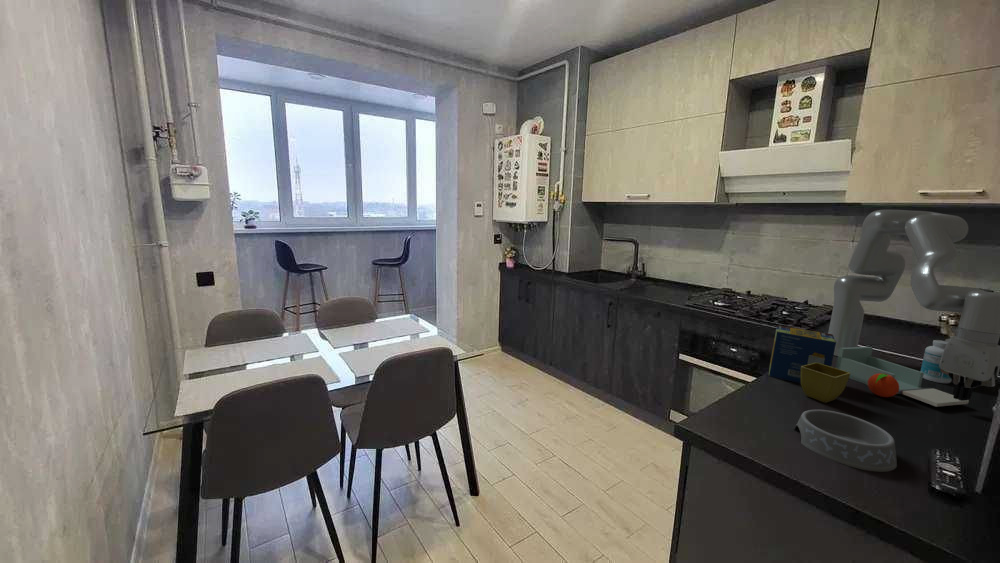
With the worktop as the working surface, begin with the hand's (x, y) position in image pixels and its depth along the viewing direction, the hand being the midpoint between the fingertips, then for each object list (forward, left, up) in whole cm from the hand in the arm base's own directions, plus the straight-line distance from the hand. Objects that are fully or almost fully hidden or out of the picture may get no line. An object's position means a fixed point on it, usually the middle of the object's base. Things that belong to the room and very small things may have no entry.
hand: (960, 399), depth 112 cm
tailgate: (-9, +5, -2) cm, 10 cm away
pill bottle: (-4, +31, -4) cm, 31 cm away
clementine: (-16, -5, -4) cm, 17 cm away
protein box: (-36, -9, -4) cm, 37 cm away
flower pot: (-28, -23, -4) cm, 37 cm away
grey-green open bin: (-17, +10, -4) cm, 20 cm away
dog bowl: (-20, -52, -4) cm, 56 cm away
